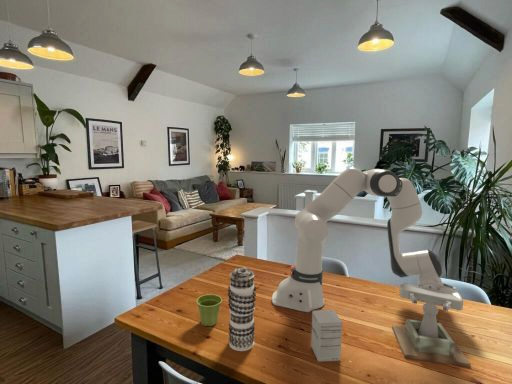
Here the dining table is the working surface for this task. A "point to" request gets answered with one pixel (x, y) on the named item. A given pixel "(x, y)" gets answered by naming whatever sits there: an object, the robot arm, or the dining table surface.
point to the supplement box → (326, 335)
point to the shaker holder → (428, 345)
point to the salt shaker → (429, 321)
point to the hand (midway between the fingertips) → (429, 305)
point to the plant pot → (209, 309)
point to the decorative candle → (241, 309)
